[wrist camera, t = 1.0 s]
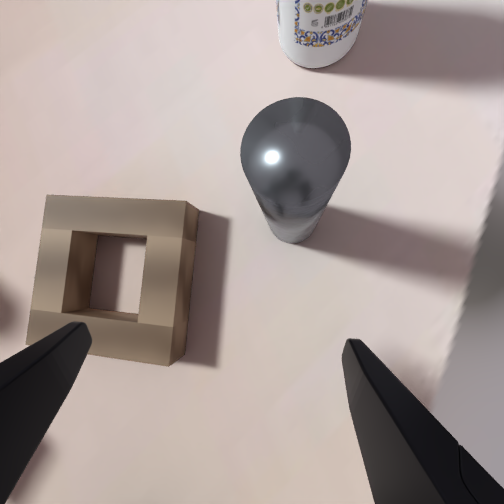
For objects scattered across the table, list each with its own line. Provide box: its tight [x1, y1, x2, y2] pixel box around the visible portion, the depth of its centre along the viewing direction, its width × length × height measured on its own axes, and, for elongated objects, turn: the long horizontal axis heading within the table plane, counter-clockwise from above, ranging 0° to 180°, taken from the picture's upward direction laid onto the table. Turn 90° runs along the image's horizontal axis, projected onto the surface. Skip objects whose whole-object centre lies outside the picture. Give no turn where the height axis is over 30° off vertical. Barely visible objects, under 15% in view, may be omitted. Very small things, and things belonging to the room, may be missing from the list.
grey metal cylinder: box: [240, 97, 351, 243], centre depth 16 cm, size 4×4×13 cm
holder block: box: [26, 195, 199, 367], centre depth 23 cm, size 13×13×3 cm
